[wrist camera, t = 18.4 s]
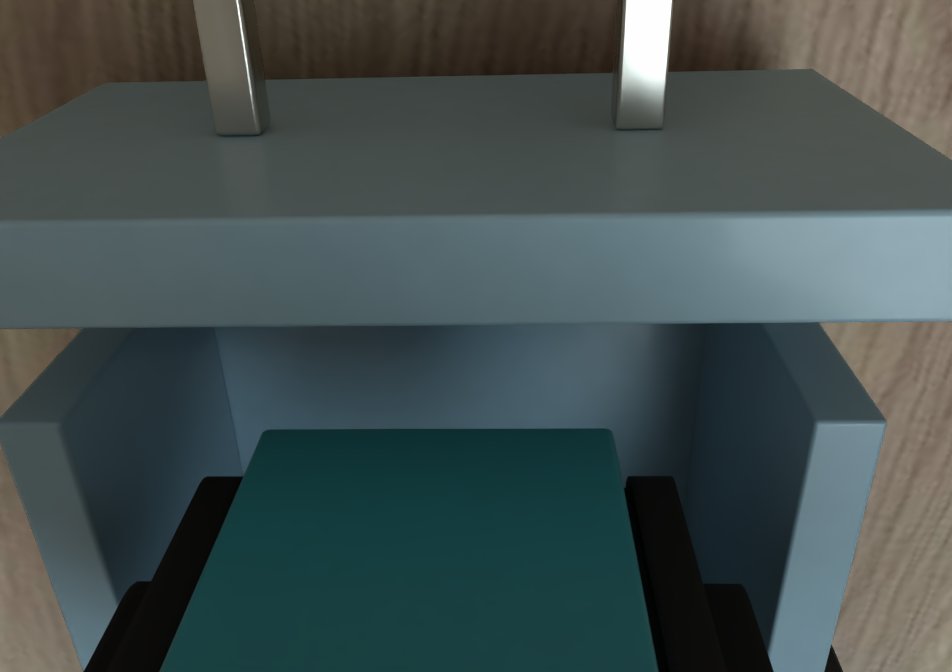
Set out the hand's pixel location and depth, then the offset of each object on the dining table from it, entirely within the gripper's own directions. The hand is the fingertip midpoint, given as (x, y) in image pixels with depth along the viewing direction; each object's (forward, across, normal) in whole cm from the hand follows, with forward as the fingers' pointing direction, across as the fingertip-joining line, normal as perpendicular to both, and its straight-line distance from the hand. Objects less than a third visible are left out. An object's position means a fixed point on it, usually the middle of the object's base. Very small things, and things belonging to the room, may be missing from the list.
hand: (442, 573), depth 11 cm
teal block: (0, 0, 0) cm, 0 cm away
